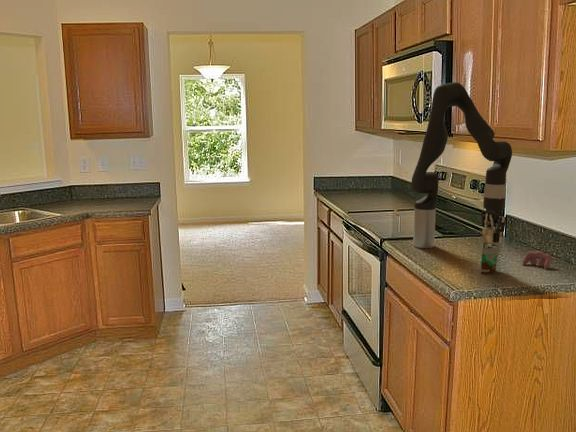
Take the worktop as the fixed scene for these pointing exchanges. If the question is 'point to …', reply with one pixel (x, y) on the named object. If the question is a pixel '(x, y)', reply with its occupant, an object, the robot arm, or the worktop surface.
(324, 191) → the worktop surface
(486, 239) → the birch cube
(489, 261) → the food container
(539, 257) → the pink toy figure
